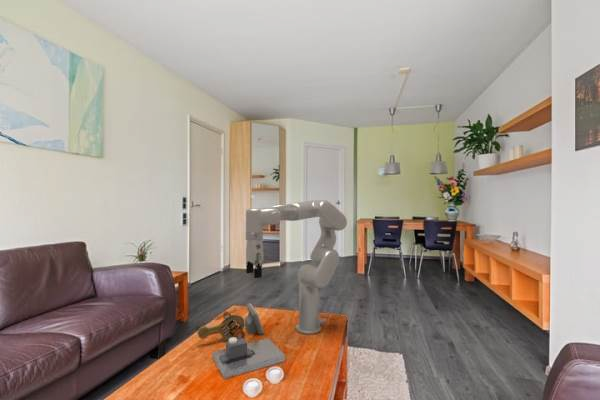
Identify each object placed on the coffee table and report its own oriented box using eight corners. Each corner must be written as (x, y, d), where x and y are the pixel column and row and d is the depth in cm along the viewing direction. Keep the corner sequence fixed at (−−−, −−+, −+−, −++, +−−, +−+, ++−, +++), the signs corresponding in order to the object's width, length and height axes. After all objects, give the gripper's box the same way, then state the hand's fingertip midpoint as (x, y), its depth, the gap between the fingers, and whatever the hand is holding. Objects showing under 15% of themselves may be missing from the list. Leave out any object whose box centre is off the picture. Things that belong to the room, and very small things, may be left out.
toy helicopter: (247, 339, 133) (247, 309, 134) (199, 351, 122) (200, 318, 123) (240, 332, 140) (241, 304, 140) (195, 343, 129) (196, 312, 130)
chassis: (268, 344, 129) (268, 338, 129) (284, 361, 116) (284, 354, 116) (212, 357, 117) (213, 351, 117) (224, 378, 104) (224, 371, 104)
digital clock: (264, 336, 138) (264, 313, 138) (244, 337, 136) (244, 314, 136) (262, 322, 154) (262, 301, 154) (244, 323, 152) (245, 302, 152)
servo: (248, 356, 119) (249, 332, 119) (253, 361, 115) (253, 337, 115) (219, 364, 113) (219, 339, 113) (222, 370, 109) (222, 344, 109)
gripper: (270, 238, 124) (269, 278, 124) (255, 234, 139) (254, 270, 139) (253, 239, 120) (252, 281, 120) (239, 234, 135) (239, 272, 135)
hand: (253, 275), depth 129 cm, fingers open, 9 cm apart
